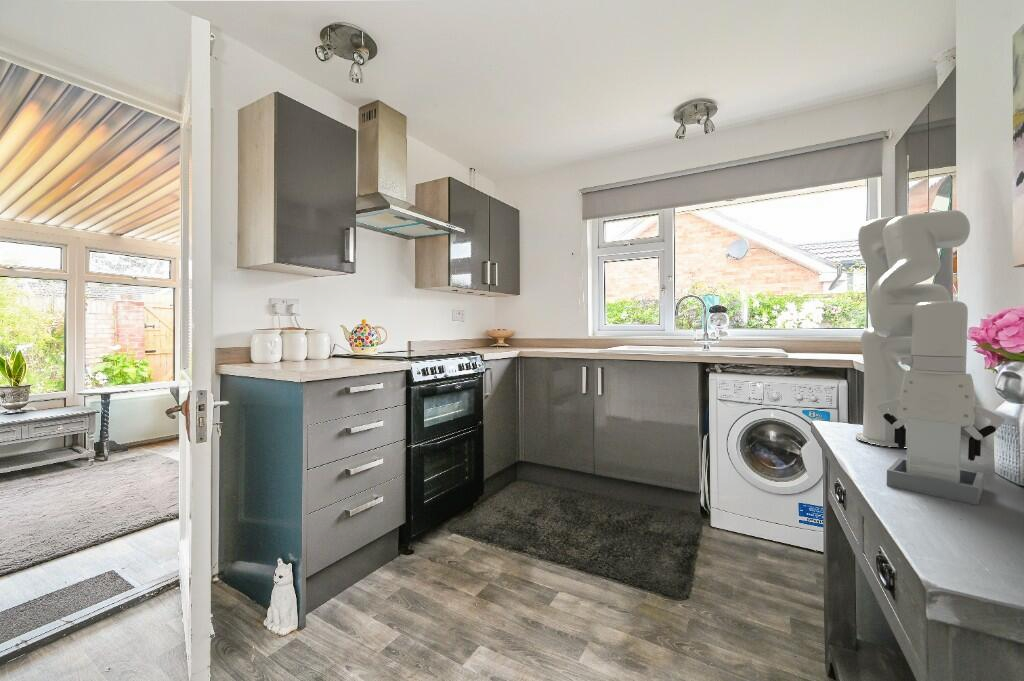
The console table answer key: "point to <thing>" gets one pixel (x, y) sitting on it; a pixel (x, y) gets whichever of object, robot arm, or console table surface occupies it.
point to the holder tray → (937, 483)
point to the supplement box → (934, 449)
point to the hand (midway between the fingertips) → (935, 453)
